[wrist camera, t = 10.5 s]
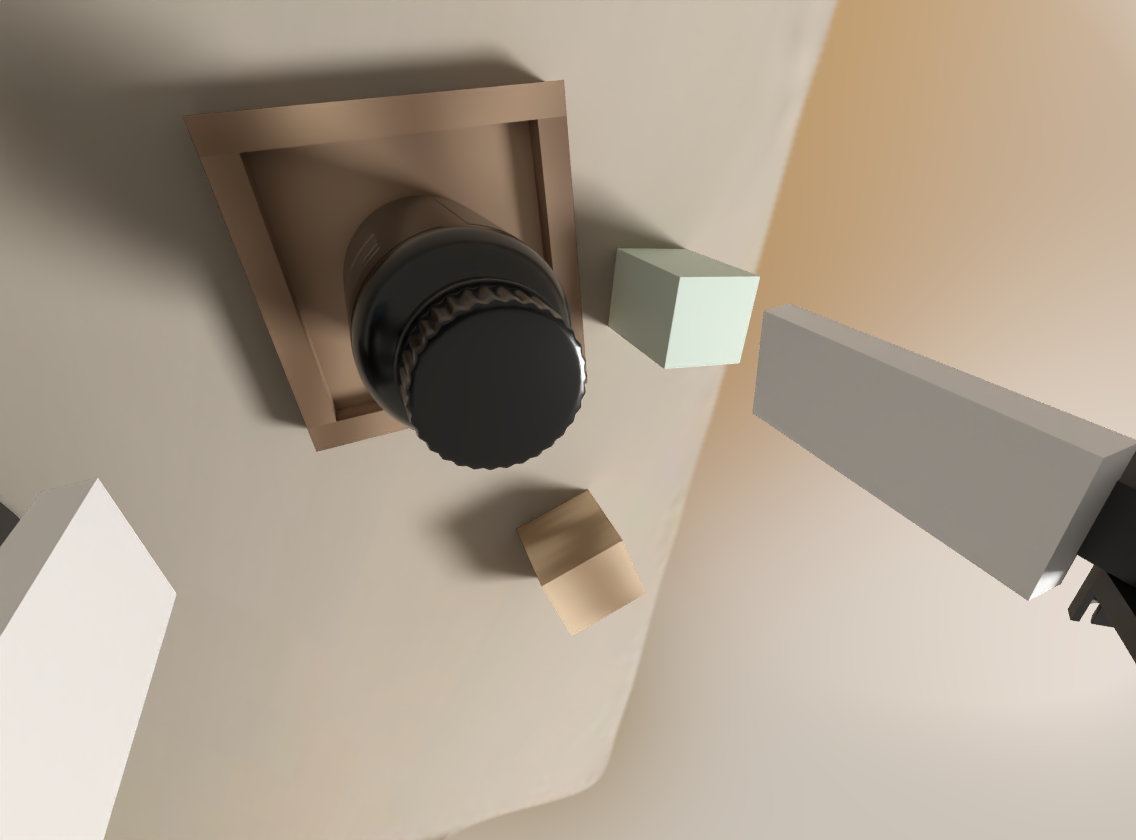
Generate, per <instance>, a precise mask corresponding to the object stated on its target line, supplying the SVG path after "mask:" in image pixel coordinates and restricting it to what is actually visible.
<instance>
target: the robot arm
mask: <svg viewBox="0 0 1136 840" xmlns="http://www.w3.org/2000/svg"><path fill="white" fill-rule="evenodd" d="M753 414H755V415H756V416H758V417H759V418H761V419H762V420H764V421H765V422H767V423H768V424H770V425H771V426H773V427H774V428H775V429H777V430H778V431H780V432H781V433H783V434H784V435H786V436H787V437H789V438H790V439H792V440H793V441H795V442H796V443H797V444H799V445H800V446H802V447H803V448H805V449H806V450H808V451H809V452H811V453H812V454H813V455H815V456H816V457H818V458H819V459H821V460H822V461H824V462H825V463H827V464H828V465H830V466H831V467H833V468H834V469H835V470H837V471H838V472H840V473H841V474H843V475H844V476H846V477H847V478H849V479H850V480H852V481H853V482H855V483H856V484H858V485H859V486H860V487H862V488H863V489H865V490H866V491H868V492H869V493H871V494H872V495H874V496H875V497H877V498H878V499H880V500H881V501H883V502H884V503H885V504H887V505H888V506H890V507H891V508H893V509H894V510H896V511H897V512H899V513H900V514H902V515H903V516H905V517H906V518H907V519H909V520H910V521H912V522H913V523H915V524H916V525H918V526H919V527H921V528H922V529H924V530H925V531H926V532H928V533H930V534H931V535H932V536H934V537H935V538H937V539H938V540H940V541H941V542H943V543H944V544H946V545H947V546H949V547H950V548H952V549H953V550H954V551H956V552H957V553H959V554H960V555H962V556H963V557H965V558H966V559H968V560H969V561H971V562H972V563H973V564H975V565H976V566H978V567H979V568H981V569H982V570H984V571H985V572H987V573H988V574H990V575H991V576H993V577H994V578H995V579H997V580H998V581H1000V582H1001V583H1003V584H1004V585H1006V586H1007V587H1009V588H1010V589H1012V590H1013V591H1015V592H1016V593H1018V594H1019V595H1020V596H1022V597H1023V598H1025V599H1026V600H1028V601H1029V600H1031V599H1033V598H1035V597H1036V596H1039V595H1040V594H1042V593H1044V592H1046V591H1048V590H1050V589H1052V588H1054V587H1056V586H1058V585H1060V584H1061V583H1062V580H1063V579H1064V577H1065V575H1066V574H1067V572H1068V570H1069V568H1070V566H1071V565H1072V563H1073V561H1074V559H1075V558H1076V556H1077V555H1079V556H1080V557H1082V558H1084V559H1086V560H1087V561H1089V562H1091V563H1093V564H1094V566H1093V568H1092V569H1091V571H1090V573H1089V574H1088V576H1087V578H1086V580H1085V581H1084V583H1083V584H1082V586H1081V588H1080V589H1079V591H1078V593H1077V595H1076V596H1075V598H1074V600H1073V601H1072V603H1071V605H1070V606H1069V608H1068V612H1069V616H1070V620H1073V621H1080V619H1081V617H1082V616H1083V614H1084V613H1085V611H1086V609H1087V608H1088V606H1089V604H1091V603H1100V604H1099V606H1098V607H1097V609H1096V610H1095V612H1094V613H1093V615H1092V619H1091V623H1092V624H1097V625H1103V626H1108V627H1114V628H1115V630H1116V631H1117V633H1118V635H1119V636H1120V638H1121V640H1122V641H1123V643H1124V645H1125V646H1126V648H1127V650H1128V651H1129V653H1130V655H1131V656H1132V658H1133V660H1134V661H1135V663H1136V440H1135V439H1132V438H1130V437H1127V436H1125V435H1122V434H1120V433H1117V432H1115V431H1112V430H1110V429H1107V428H1105V427H1102V426H1099V425H1097V424H1094V423H1092V422H1089V421H1087V420H1084V419H1082V418H1079V417H1077V416H1074V415H1072V414H1069V413H1066V412H1064V411H1061V410H1059V409H1056V408H1054V407H1051V406H1049V405H1046V404H1044V403H1041V402H1039V401H1036V400H1033V399H1031V398H1029V397H1026V396H1023V395H1021V394H1018V393H1016V392H1013V391H1011V390H1008V389H1006V388H1003V387H1001V386H998V385H996V384H993V383H990V382H988V381H985V380H983V379H980V378H978V377H975V376H973V375H970V374H968V373H965V372H963V371H960V370H958V369H955V368H953V367H950V366H947V365H945V364H942V363H940V362H937V361H935V360H932V359H930V358H927V357H924V356H922V355H920V354H917V353H914V352H912V351H909V350H907V349H904V348H902V347H899V346H896V345H894V344H892V343H889V342H887V341H884V340H882V339H879V338H877V337H874V336H871V335H869V334H866V333H864V332H861V331H859V330H856V329H854V328H851V327H849V326H846V325H844V324H841V323H838V322H836V321H833V320H831V319H828V318H826V317H823V316H821V315H818V314H816V313H813V312H811V311H808V310H805V309H803V308H800V307H798V306H795V305H793V304H787V305H783V306H779V307H775V308H771V309H767V310H764V313H763V322H762V331H761V341H760V350H759V359H758V368H757V378H756V388H755V397H754V406H753ZM175 597H176V592H175V591H174V589H173V588H172V587H171V585H170V584H169V582H168V581H167V579H166V578H165V576H164V575H163V573H162V572H161V570H160V569H159V567H158V566H157V564H156V563H155V561H154V560H153V558H152V557H151V556H150V554H149V553H148V551H147V550H146V548H145V547H144V545H143V544H142V542H141V541H140V539H139V538H138V536H137V535H136V533H135V532H134V530H133V529H132V528H131V526H130V525H129V523H128V522H127V520H126V519H125V517H124V516H123V514H122V513H121V511H120V510H119V508H118V507H117V505H116V504H115V502H114V501H113V499H112V498H111V497H110V495H109V494H108V492H107V491H106V489H105V488H104V486H103V485H102V483H101V482H100V480H99V479H98V478H94V479H90V480H86V481H82V482H78V483H74V484H70V485H66V486H62V487H58V488H54V489H50V490H46V491H42V492H41V493H40V494H39V495H38V497H37V498H36V499H35V501H34V502H33V503H32V505H31V506H30V507H29V509H28V510H27V511H26V513H25V514H24V516H23V517H22V518H21V520H20V519H19V518H18V517H17V516H16V515H15V514H14V513H13V512H11V511H10V510H9V509H8V508H7V507H5V506H4V505H3V504H2V503H0V840H103V839H104V836H105V832H106V829H107V826H108V822H109V819H110V816H111V812H112V809H113V806H114V802H115V799H116V795H117V792H118V789H119V785H120V782H121V779H122V775H123V772H124V769H125V765H126V762H127V759H128V755H129V752H130V748H131V745H132V742H133V738H134V735H135V732H136V728H137V725H138V722H139V718H140V715H141V712H142V708H143V705H144V701H145V698H146V695H147V691H148V688H149V685H150V681H151V678H152V675H153V671H154V668H155V665H156V661H157V658H158V655H159V651H160V648H161V644H162V641H163V638H164V634H165V631H166V628H167V624H168V621H169V618H170V614H171V611H172V608H173V604H174V601H175Z"/></svg>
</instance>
